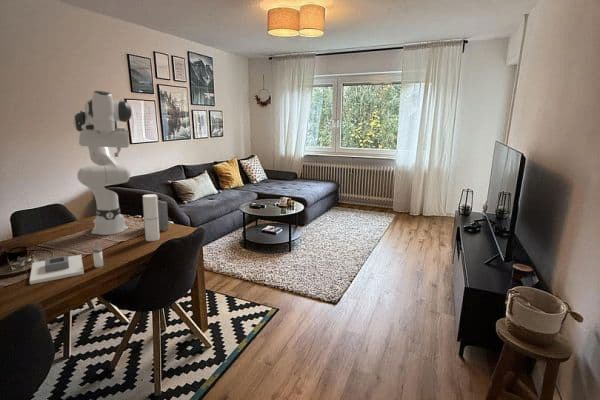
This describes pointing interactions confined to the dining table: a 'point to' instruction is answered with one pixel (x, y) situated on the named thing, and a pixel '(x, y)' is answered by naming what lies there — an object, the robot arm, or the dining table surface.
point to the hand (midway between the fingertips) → (105, 156)
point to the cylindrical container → (151, 217)
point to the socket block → (56, 268)
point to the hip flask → (162, 215)
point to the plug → (98, 257)
